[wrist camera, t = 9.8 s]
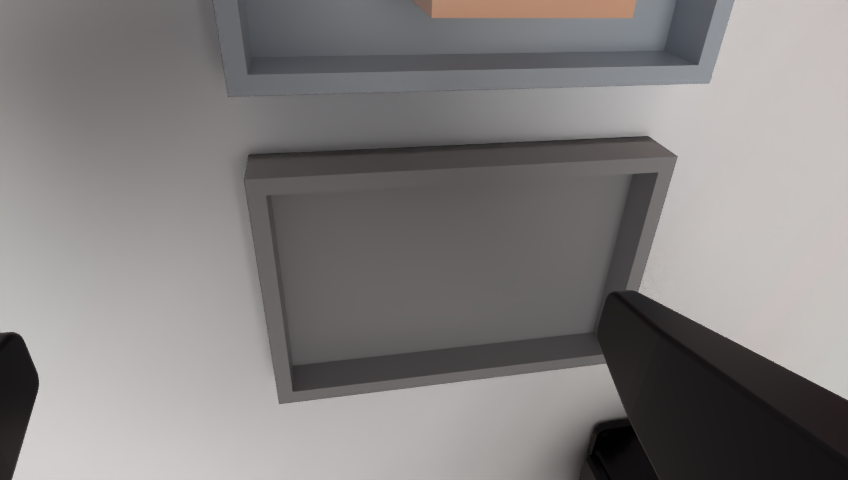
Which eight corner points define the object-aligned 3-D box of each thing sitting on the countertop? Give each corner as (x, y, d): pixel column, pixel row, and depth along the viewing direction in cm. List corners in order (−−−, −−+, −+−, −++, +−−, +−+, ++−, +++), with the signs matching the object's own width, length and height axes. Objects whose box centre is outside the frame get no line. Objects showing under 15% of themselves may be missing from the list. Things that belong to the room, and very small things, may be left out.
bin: (648, 136, 22) (677, 156, 20) (597, 333, 27) (617, 361, 25) (248, 154, 19) (243, 179, 17) (280, 369, 24) (279, 403, 23)
